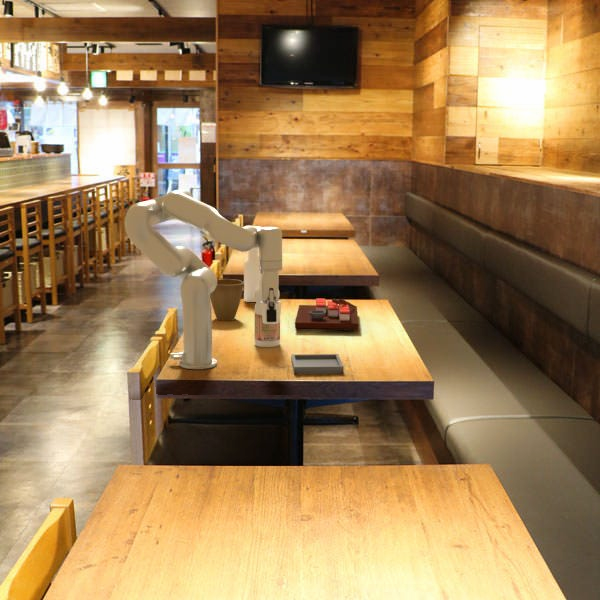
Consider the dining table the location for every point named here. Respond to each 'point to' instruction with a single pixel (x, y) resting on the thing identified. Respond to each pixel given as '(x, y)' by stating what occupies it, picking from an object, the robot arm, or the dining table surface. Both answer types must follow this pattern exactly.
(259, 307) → the fruit juice
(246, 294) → the alcohol
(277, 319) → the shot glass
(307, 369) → the serving tray
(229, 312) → the plant pot
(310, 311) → the sushi
